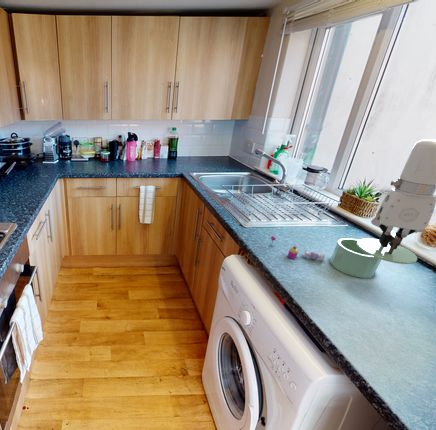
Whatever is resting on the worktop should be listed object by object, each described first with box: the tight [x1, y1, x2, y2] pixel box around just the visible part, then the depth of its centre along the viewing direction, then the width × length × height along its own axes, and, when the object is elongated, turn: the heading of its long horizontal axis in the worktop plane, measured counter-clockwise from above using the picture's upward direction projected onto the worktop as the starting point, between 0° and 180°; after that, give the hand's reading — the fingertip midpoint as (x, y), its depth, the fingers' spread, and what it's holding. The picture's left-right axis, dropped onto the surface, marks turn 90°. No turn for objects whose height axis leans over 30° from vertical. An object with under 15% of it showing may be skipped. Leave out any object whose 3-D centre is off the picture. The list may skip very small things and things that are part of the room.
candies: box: [270, 235, 325, 262], centre depth 109 cm, size 18×8×6 cm, turn 62°
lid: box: [357, 230, 418, 265], centre depth 84 cm, size 14×14×6 cm
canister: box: [329, 237, 382, 279], centre depth 102 cm, size 13×13×8 cm
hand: (387, 245), depth 85 cm, fingers closed on lid, 1 cm apart
